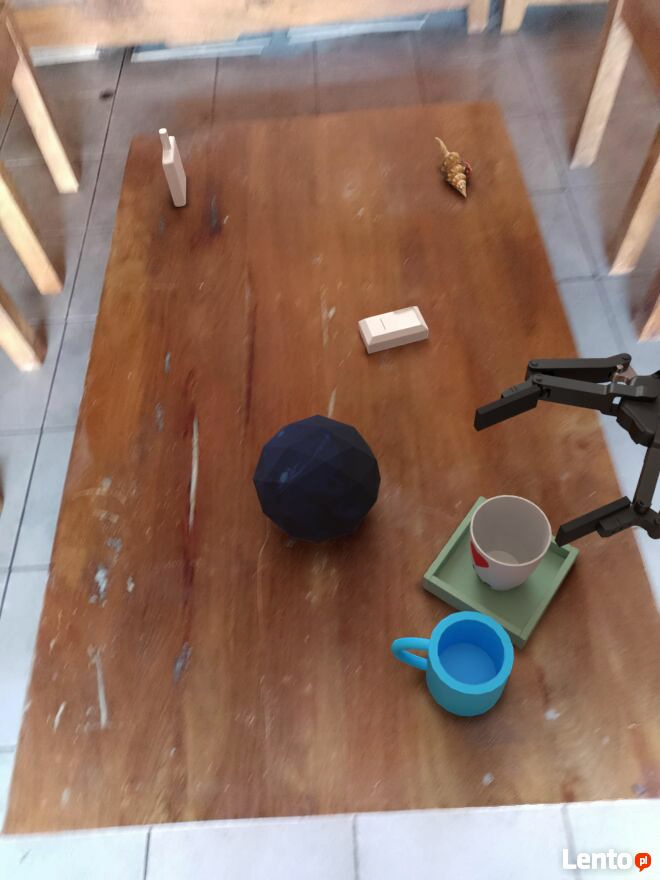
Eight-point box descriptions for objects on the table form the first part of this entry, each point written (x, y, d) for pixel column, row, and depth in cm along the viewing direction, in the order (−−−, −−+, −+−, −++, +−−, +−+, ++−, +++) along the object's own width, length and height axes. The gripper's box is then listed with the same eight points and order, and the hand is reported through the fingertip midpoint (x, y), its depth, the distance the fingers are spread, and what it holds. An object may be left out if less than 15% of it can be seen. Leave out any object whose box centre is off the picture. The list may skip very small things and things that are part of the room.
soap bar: (358, 330, 106) (358, 317, 103) (416, 315, 106) (417, 302, 104) (368, 353, 103) (368, 341, 101) (428, 338, 104) (428, 325, 101)
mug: (508, 648, 77) (518, 620, 71) (498, 725, 73) (508, 703, 66) (399, 623, 80) (399, 595, 73) (383, 696, 75) (381, 673, 69)
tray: (574, 561, 82) (580, 550, 80) (521, 650, 77) (525, 640, 75) (478, 507, 87) (480, 495, 85) (422, 587, 82) (422, 576, 80)
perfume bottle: (175, 179, 130) (157, 118, 120) (186, 178, 130) (169, 116, 120) (174, 207, 126) (155, 145, 116) (186, 205, 126) (167, 144, 116)
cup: (460, 538, 84) (467, 495, 76) (531, 538, 83) (545, 494, 75) (465, 604, 79) (473, 565, 71) (540, 604, 79) (556, 566, 71)
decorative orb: (232, 552, 80) (300, 490, 70) (233, 442, 89) (294, 373, 79) (338, 574, 87) (414, 520, 77) (329, 470, 96) (397, 410, 86)
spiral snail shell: (488, 190, 122) (492, 167, 118) (465, 201, 120) (467, 178, 117) (438, 153, 129) (439, 130, 125) (415, 164, 127) (416, 141, 124)
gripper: (793, 514, 64) (590, 612, 60) (619, 332, 77) (445, 402, 74) (835, 468, 57) (612, 574, 54) (638, 279, 71) (449, 353, 68)
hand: (515, 475), depth 64 cm, fingers open, 13 cm apart
